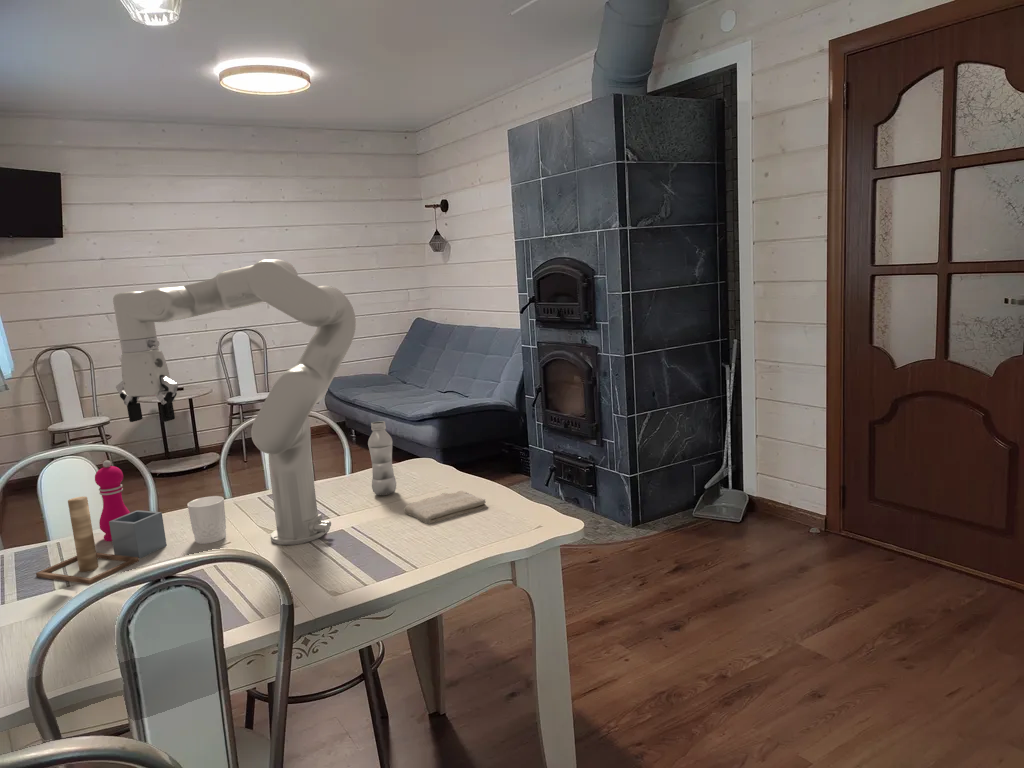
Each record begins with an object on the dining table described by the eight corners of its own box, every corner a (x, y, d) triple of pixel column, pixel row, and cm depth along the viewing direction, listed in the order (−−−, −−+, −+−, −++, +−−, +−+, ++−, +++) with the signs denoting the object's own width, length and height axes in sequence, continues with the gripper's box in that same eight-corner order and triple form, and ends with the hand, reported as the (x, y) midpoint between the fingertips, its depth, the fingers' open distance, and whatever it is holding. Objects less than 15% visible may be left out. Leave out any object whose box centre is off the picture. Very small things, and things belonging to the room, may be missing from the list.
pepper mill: (128, 532, 184) (115, 455, 181) (141, 538, 180) (128, 458, 176) (97, 542, 179) (84, 462, 175) (110, 548, 174) (96, 466, 171)
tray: (139, 565, 162) (138, 557, 162) (91, 588, 151) (89, 580, 151) (87, 558, 168) (86, 551, 168) (37, 581, 157) (35, 573, 157)
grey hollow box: (167, 549, 170) (161, 512, 169) (140, 562, 163) (133, 523, 162) (142, 546, 173) (137, 510, 172) (115, 559, 166) (108, 521, 165)
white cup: (185, 547, 171) (179, 506, 170) (210, 534, 178) (204, 495, 177) (212, 549, 168) (206, 507, 167) (236, 537, 176) (230, 496, 174)
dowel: (102, 567, 160) (91, 497, 158) (87, 574, 157) (75, 502, 154) (90, 566, 162) (79, 496, 159) (75, 572, 158) (63, 501, 156)
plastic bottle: (376, 490, 205) (369, 420, 202) (400, 490, 204) (393, 419, 201) (369, 498, 199) (361, 425, 195) (393, 497, 198) (386, 424, 194)
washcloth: (489, 508, 185) (488, 496, 185) (427, 527, 175) (426, 514, 174) (464, 498, 195) (463, 487, 194) (403, 515, 184) (402, 503, 184)
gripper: (182, 342, 167) (194, 416, 169) (124, 346, 173) (137, 417, 176) (156, 347, 160) (168, 424, 162) (97, 350, 166) (110, 424, 169)
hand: (152, 420), depth 169 cm, fingers open, 9 cm apart
